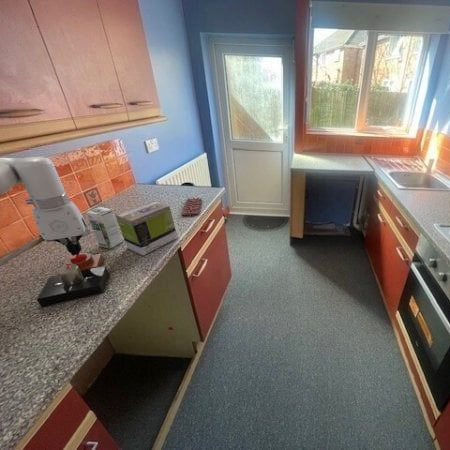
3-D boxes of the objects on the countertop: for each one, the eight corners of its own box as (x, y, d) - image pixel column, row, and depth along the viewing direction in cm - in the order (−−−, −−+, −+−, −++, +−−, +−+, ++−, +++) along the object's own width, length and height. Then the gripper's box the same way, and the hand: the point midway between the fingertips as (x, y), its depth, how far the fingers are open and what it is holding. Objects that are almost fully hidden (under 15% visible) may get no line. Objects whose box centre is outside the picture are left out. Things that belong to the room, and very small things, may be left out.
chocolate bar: (182, 216, 120) (181, 212, 119) (187, 201, 136) (186, 198, 135) (198, 215, 121) (197, 211, 121) (201, 200, 138) (200, 197, 137)
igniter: (60, 279, 79) (54, 269, 77) (68, 265, 85) (63, 255, 83) (98, 271, 83) (94, 262, 81) (103, 258, 89) (99, 249, 87)
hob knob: (81, 283, 73) (75, 270, 71) (62, 287, 71) (55, 274, 69) (85, 274, 77) (79, 262, 74) (67, 278, 75) (60, 265, 73)
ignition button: (70, 264, 80) (68, 259, 79) (73, 257, 83) (71, 253, 82) (84, 261, 81) (82, 257, 80) (87, 255, 84) (85, 251, 83)
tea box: (162, 232, 106) (154, 200, 99) (178, 238, 102) (170, 205, 95) (126, 248, 95) (114, 213, 88) (142, 256, 91) (131, 220, 84)
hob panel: (41, 307, 69) (36, 298, 67) (54, 284, 77) (49, 276, 75) (102, 292, 74) (99, 284, 73) (108, 273, 82) (105, 265, 81)
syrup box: (98, 246, 95) (84, 212, 88) (112, 238, 100) (100, 206, 93) (109, 249, 94) (96, 214, 87) (123, 241, 99) (112, 208, 92)
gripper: (10, 210, 66) (42, 265, 75) (80, 202, 72) (102, 254, 81) (23, 199, 72) (51, 252, 81) (86, 193, 78) (106, 242, 87)
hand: (76, 252), depth 81 cm, fingers closed
